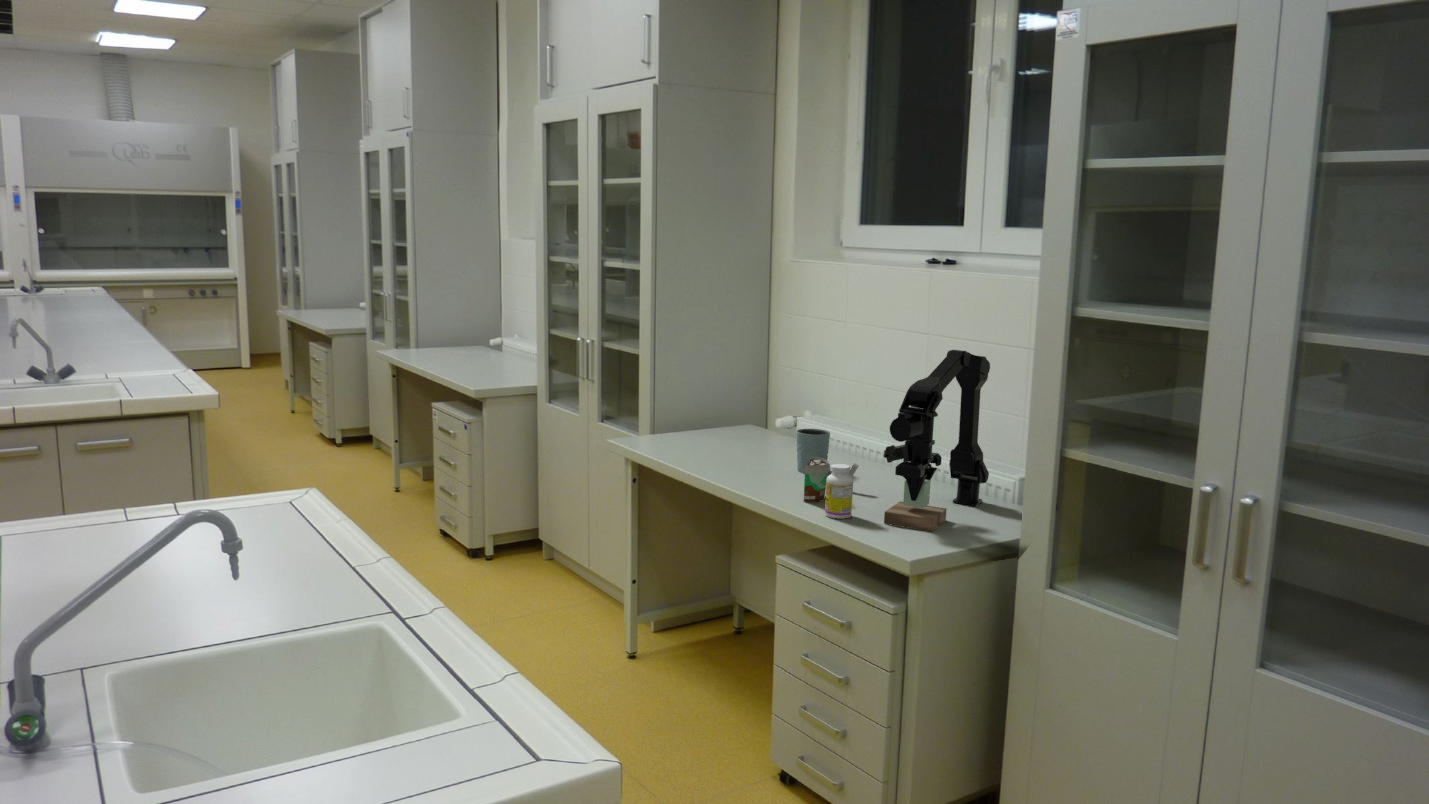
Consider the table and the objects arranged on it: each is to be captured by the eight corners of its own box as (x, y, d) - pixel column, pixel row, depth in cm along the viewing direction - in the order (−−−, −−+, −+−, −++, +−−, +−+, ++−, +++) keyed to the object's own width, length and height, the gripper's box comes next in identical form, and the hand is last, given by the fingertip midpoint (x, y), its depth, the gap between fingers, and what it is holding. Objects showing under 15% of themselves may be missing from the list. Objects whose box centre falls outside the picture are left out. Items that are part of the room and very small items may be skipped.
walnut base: (899, 512, 258) (900, 501, 257) (945, 520, 252) (946, 508, 252) (883, 523, 247) (884, 511, 247) (931, 531, 242) (932, 519, 241)
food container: (826, 505, 263) (828, 467, 261) (803, 503, 264) (804, 465, 262) (830, 493, 275) (832, 457, 273) (808, 492, 276) (810, 456, 274)
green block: (909, 500, 253) (910, 477, 252) (929, 503, 250) (930, 480, 249) (903, 505, 248) (904, 481, 247) (923, 508, 246) (924, 484, 245)
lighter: (830, 490, 279) (832, 461, 278) (832, 488, 280) (833, 460, 279) (856, 493, 276) (857, 464, 275) (857, 491, 278) (859, 463, 277)
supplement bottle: (827, 511, 257) (829, 461, 255) (853, 514, 255) (856, 464, 253) (822, 517, 251) (825, 467, 249) (848, 520, 249) (851, 469, 247)
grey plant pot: (811, 476, 294) (813, 435, 292) (787, 469, 302) (788, 430, 300) (835, 471, 301) (837, 432, 299) (810, 465, 308) (812, 426, 306)
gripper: (900, 426, 258) (897, 486, 261) (876, 438, 242) (872, 501, 245) (943, 431, 253) (939, 492, 256) (921, 444, 237) (917, 508, 239)
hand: (916, 498), depth 249 cm, fingers closed on green block, 5 cm apart
